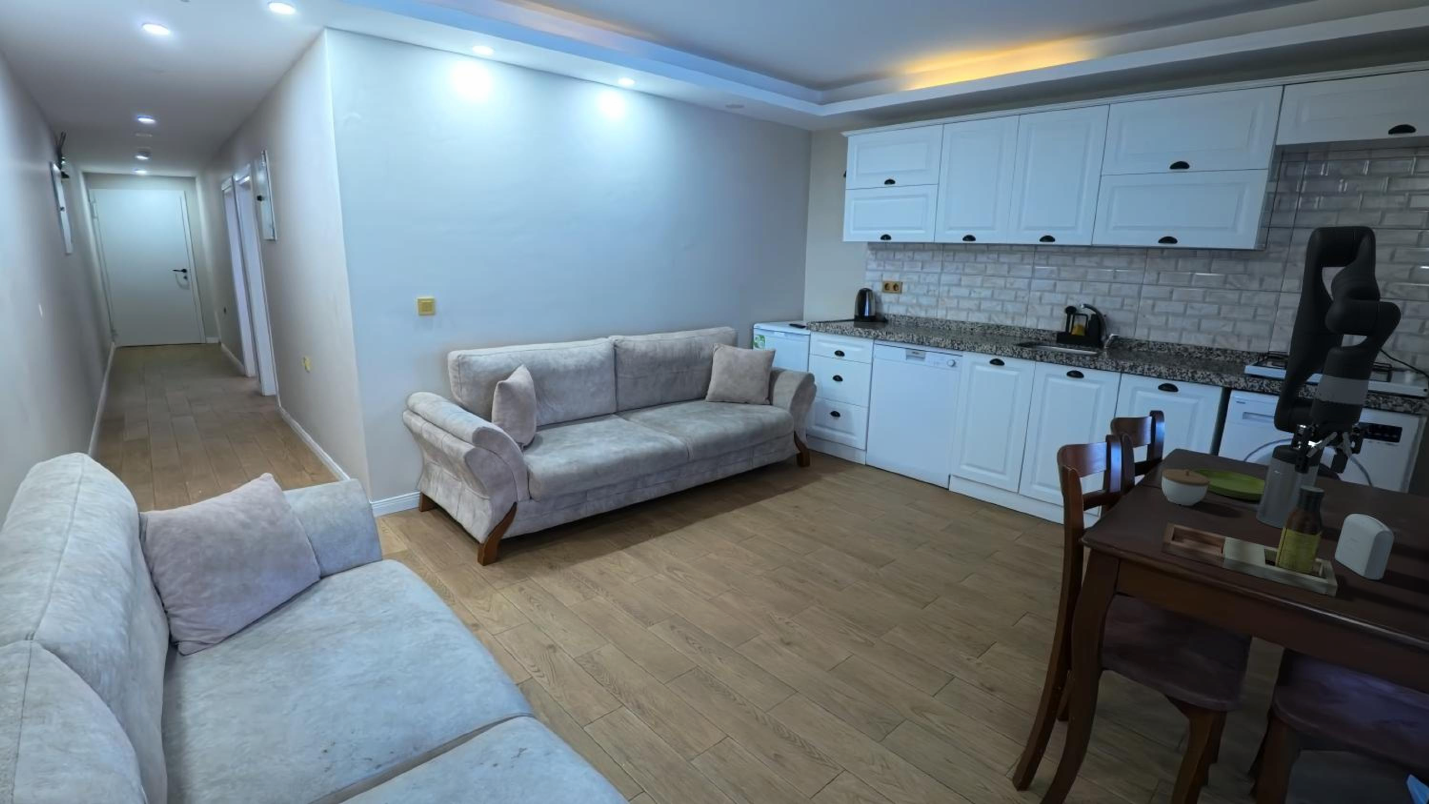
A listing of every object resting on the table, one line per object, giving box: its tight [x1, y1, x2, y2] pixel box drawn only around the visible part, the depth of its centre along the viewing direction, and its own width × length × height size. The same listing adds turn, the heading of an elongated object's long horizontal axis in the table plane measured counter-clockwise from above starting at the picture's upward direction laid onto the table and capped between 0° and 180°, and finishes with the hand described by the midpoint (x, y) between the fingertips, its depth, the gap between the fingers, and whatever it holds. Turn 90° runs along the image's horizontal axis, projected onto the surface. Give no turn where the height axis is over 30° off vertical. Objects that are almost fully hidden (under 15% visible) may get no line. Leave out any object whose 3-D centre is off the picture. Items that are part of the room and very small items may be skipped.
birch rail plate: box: [1160, 522, 1339, 598], centre depth 148 cm, size 30×14×2 cm, turn 52°
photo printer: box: [1334, 513, 1395, 581], centre depth 145 cm, size 10×4×12 cm, turn 168°
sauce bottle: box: [1274, 486, 1325, 576], centre depth 141 cm, size 6×6×20 cm
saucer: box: [1190, 468, 1266, 501], centre depth 193 cm, size 21×21×3 cm
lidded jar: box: [1161, 468, 1210, 507], centre depth 182 cm, size 11×11×9 cm
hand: (1318, 472), depth 138 cm, fingers open, 8 cm apart
